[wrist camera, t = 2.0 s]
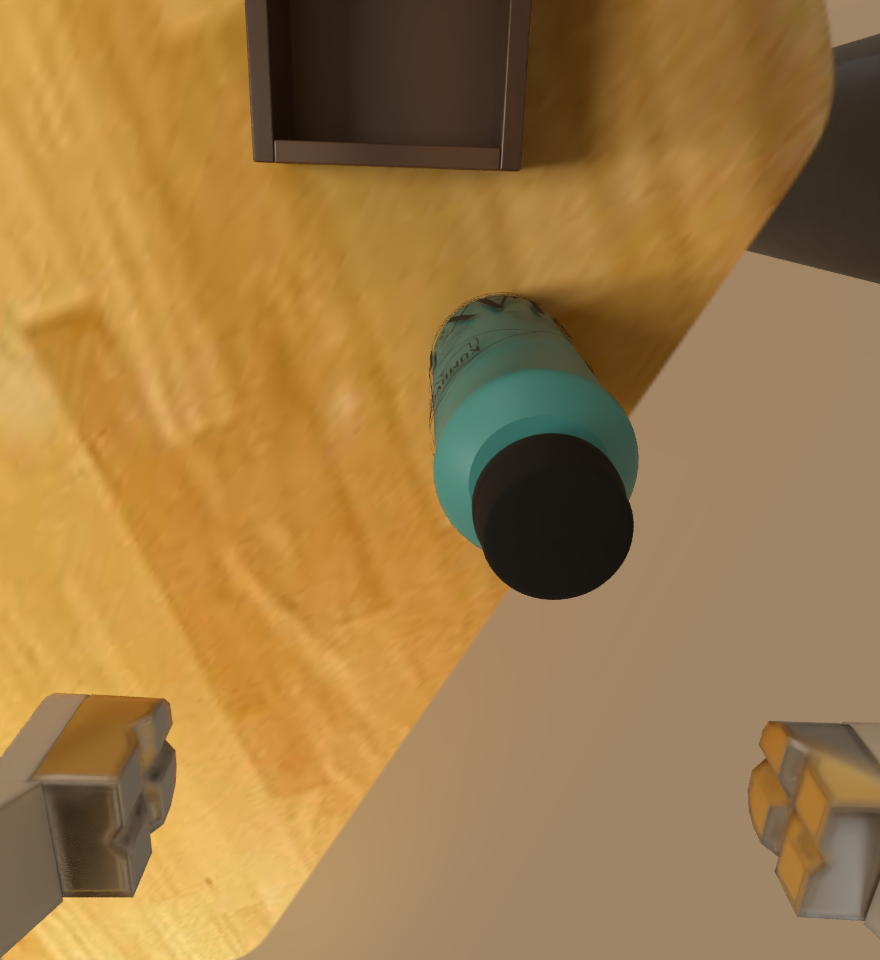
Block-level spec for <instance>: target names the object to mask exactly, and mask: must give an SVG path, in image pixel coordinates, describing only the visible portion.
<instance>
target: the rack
mask: <svg viewBox="0 0 880 960" xmlns="http://www.w3.org/2000/svg"><path fill="white" fill-rule="evenodd" d="M531 6H532V0H245V14H246V32H247V51H248V69H249V88H250V106H251V125H252V143H253V160H254V162H265V163H286V164H314V165H343V166H371V167H399V168H427V169H455V170H483V171H520V169H521V155H522V140H523V125H524V110H525V95H526V80H527V65H528V51H529V36H530V21H531Z"/></svg>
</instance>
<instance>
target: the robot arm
mask: <svg viewBox="0 0 880 960" xmlns="http://www.w3.org/2000/svg"><path fill="white" fill-rule="evenodd" d="M172 724H173V723H172V716H171V709H170V703H169V702H168V701H167V700H165V699H161V698H144V697H127V696H110V695H93V694H92V695H85V694H65V693H54V694H52V695H49V696H47V697H46V698H45V699H44V700H43V701H42V702H41V704H40V705H39V706H38V708H37V709H36V710H35V712H34V713H33V714H32V716H31V717H30V718H29V720H28V721H27V722H26V724H25V725H24V726H23V728H22V729H21V730H20V732H19V733H18V734H17V736H16V737H15V738H14V740H13V741H12V743H11V744H10V745H9V747H8V748H7V749H6V751H5V752H4V753H3V755H2V756H1V757H0V958H1V957H2V956H3V955H4V954H5V953H6V952H8V951H9V950H10V949H11V948H12V947H13V946H14V945H15V944H16V943H17V942H19V941H20V940H21V939H22V938H23V937H24V936H25V935H26V934H27V933H28V932H30V931H31V930H32V929H33V928H34V927H35V926H36V925H37V924H38V923H40V922H41V921H42V920H43V919H44V918H45V917H46V916H47V915H48V914H49V913H51V912H52V911H53V910H54V909H55V908H56V907H57V906H58V905H59V904H60V903H62V902H63V899H62V897H133V896H134V894H135V892H136V889H137V887H138V884H139V882H140V880H141V877H142V875H143V872H144V870H145V868H146V865H147V863H148V861H149V858H150V856H151V853H152V848H151V839H150V834H151V833H152V832H154V831H155V830H156V829H158V828H159V827H160V826H162V825H163V824H164V822H165V819H166V817H167V814H168V812H169V809H170V806H171V802H172V798H173V793H174V788H175V784H176V754H175V750H174V749H173V748H172V746H171V745H170V744H169V743H168V742H167V741H166V740H165V739H166V737H167V735H168V733H169V730H170V728H171V726H172ZM759 746H760V748H761V749H762V751H763V753H764V755H765V757H766V759H764V760H763V761H762V762H761V763H760V764H759V765H758V766H757V767H755V768H754V769H753V770H752V773H751V777H750V783H749V787H748V803H749V813H750V817H751V820H752V824H753V827H754V829H755V831H756V834H757V836H758V838H759V840H760V842H761V843H762V844H763V845H764V846H765V847H767V848H768V849H769V850H771V851H772V852H773V853H774V854H775V855H777V856H778V857H779V858H778V862H777V865H776V869H775V873H776V875H777V877H778V879H779V881H780V883H781V885H782V887H783V889H784V891H785V893H786V896H787V898H788V899H789V902H790V904H791V906H792V908H793V910H794V912H795V914H796V916H797V917H808V918H825V919H841V920H858V921H859V920H861V921H865V922H864V925H865V926H866V927H867V928H868V929H869V930H871V931H872V932H873V933H874V934H875V935H876V936H877V937H878V938H879V939H880V723H860V722H842V723H841V724H839V723H814V722H781V721H780V722H779V721H769V722H768V723H767V725H766V726H765V728H764V729H763V731H762V735H761V738H760V742H759Z"/></svg>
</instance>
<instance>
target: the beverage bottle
mask: <svg viewBox="0 0 880 960" xmlns="http://www.w3.org/2000/svg"><path fill="white" fill-rule="evenodd" d="M502 293H506V292H502ZM490 294H492V293H490ZM514 294H515V293H514ZM485 295H486V294H485ZM495 295H496V294H495ZM507 295H509V294H506V295H504V294H502V295H500V294H499V295H496V296H492V295H490V296H489V297H487V296H488V295H487V296H486V297H485V298H481V299H480V298H478V300H476V299H475V300H476V301H475V300H474V301H473V302H472V301H471V303H470V302H469V304H468V303H467V305H466V306H464V305H463V304H462V305H463V306H464V307H463V306H462V308H461V307H460V306H459V307H460V308H461V309H460V308H459V309H460V310H459V309H458V310H459V311H457V312H456V313H455V314H454V315H453V316H452V315H451V316H452V317H451V316H450V317H451V318H450V319H449V318H448V319H449V320H448V322H447V323H446V324H445V325H444V327H443V329H442V330H441V332H440V334H439V336H438V338H437V341H436V344H435V347H434V352H433V356H432V351H431V350H430V351H431V356H430V359H429V360H430V368H432V365H433V370H432V371H433V395H432V396H431V397H432V401H433V403H434V404H433V407H431V406H430V407H431V408H434V409H433V411H434V414H433V415H434V438H435V454H433V455H434V464H433V470H434V483H435V488H436V493H437V496H438V499H439V502H440V505H441V507H442V509H443V510H444V512H445V514H446V516H447V518H448V519H449V520H450V522H451V523H452V525H453V526H454V527H455V528H456V529H457V530H458V531H459V533H460V534H461V535H463V536H464V537H465V538H466V539H467V540H468V541H470V542H471V543H473V544H474V545H476V546H477V547H479V548H481V549H483V552H484V555H485V558H486V560H487V562H488V564H489V565H490V567H491V568H492V570H493V571H494V573H495V574H496V575H497V576H498V577H499V578H500V579H501V580H502V581H503V582H504V583H506V584H507V585H508V586H509V587H511V588H513V589H515V590H516V591H518V592H520V593H522V594H525V595H528V596H531V597H534V598H539V599H547V600H561V599H568V598H573V597H577V596H580V595H583V594H586V593H588V592H590V591H592V590H594V589H596V588H598V587H599V586H601V585H602V584H603V583H605V582H606V581H607V580H608V579H610V578H611V576H613V575H614V573H615V572H616V571H617V570H618V569H619V567H620V566H621V565H622V563H623V561H624V560H625V558H626V556H627V554H628V552H629V549H630V546H631V542H632V537H633V528H634V525H633V524H634V521H633V514H632V509H631V506H630V503H629V498H630V496H631V494H632V491H633V488H634V485H635V481H636V477H637V470H638V447H637V441H636V437H635V433H634V430H633V428H632V425H631V423H630V421H629V419H628V417H627V415H626V414H625V412H624V410H623V409H622V408H621V406H620V405H619V404H618V402H617V401H616V400H615V399H614V398H613V397H612V396H611V395H610V394H609V393H608V392H607V391H606V390H605V389H604V388H603V387H602V385H601V384H600V383H599V381H598V380H597V379H596V377H595V376H594V373H592V372H593V371H592V370H591V368H590V367H589V366H588V365H586V364H587V363H586V362H585V361H584V360H583V358H582V357H581V356H580V355H579V353H578V352H577V351H576V349H575V348H574V347H573V346H572V344H571V343H570V342H569V340H568V339H567V338H566V337H565V335H564V334H566V333H564V334H563V333H562V332H561V330H560V329H559V327H558V326H559V325H560V324H559V323H558V324H559V325H558V326H557V325H556V324H555V323H556V321H557V320H556V319H555V320H556V321H555V320H554V319H553V320H554V321H555V323H554V321H553V320H552V319H551V317H550V316H549V315H548V314H547V313H546V312H545V311H544V310H542V309H541V308H540V307H539V306H538V304H539V302H538V304H536V303H535V302H532V301H530V300H529V301H528V300H527V299H526V300H525V299H524V298H526V296H525V297H524V298H519V297H515V296H507ZM511 295H513V294H511ZM482 296H483V295H482ZM516 296H519V294H518V295H516ZM478 297H479V296H478ZM520 297H523V296H520ZM473 299H474V298H473ZM471 300H472V299H471ZM469 301H470V300H469ZM467 302H468V301H467ZM536 302H537V301H536ZM540 305H541V304H540ZM544 308H546V307H544ZM455 310H456V309H455ZM455 310H454V311H455ZM551 314H552V313H551ZM446 319H447V318H446ZM446 321H447V320H446ZM446 321H445V322H446ZM442 324H443V323H442ZM442 326H443V325H442ZM560 326H561V327H563V326H562V325H560ZM440 327H441V326H440ZM441 328H442V327H441ZM441 328H440V329H441ZM562 329H563V328H562ZM439 331H440V330H439ZM562 331H564V330H562ZM565 331H566V330H565ZM437 332H438V331H437ZM566 332H567V331H566ZM436 334H438V333H436ZM567 334H568V333H567ZM568 335H569V334H568ZM435 336H436V335H435ZM566 336H567V335H566ZM568 337H569V336H568ZM570 337H571V336H570ZM571 339H572V337H571ZM434 341H435V340H434ZM574 342H575V341H574ZM433 343H434V342H433ZM574 344H575V343H574ZM431 347H432V346H431ZM431 349H433V348H431ZM587 366H588V367H589V368H590V369H589V368H588V367H587ZM430 368H429V378H430V373H431V372H430ZM590 370H591V371H592V372H591V371H590ZM431 377H432V376H431ZM430 379H431V378H430ZM431 382H432V381H430V383H431ZM431 384H432V383H431ZM429 389H430V387H429ZM431 391H432V386H431ZM429 392H430V390H429ZM432 401H430V402H431V403H432ZM429 409H430V408H429ZM431 411H432V410H431ZM429 413H430V417H429V419H431V412H429ZM432 418H433V417H432ZM431 422H432V421H431ZM429 423H430V420H429ZM430 427H431V425H430V424H429V428H430ZM431 433H432V432H431ZM432 438H433V437H432ZM433 442H434V441H433ZM430 445H431V444H430ZM431 449H432V448H431Z"/></svg>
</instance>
